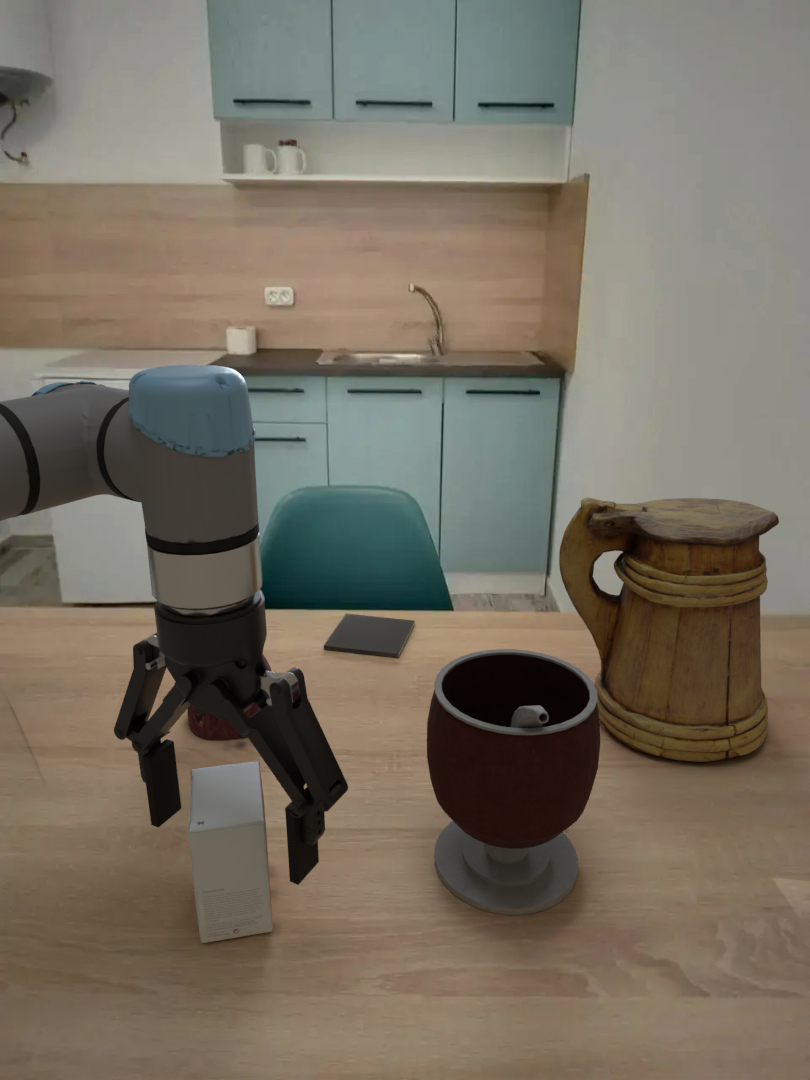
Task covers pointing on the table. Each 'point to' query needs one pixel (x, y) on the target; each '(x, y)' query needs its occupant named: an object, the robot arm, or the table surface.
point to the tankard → (675, 622)
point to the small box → (229, 851)
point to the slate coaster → (370, 635)
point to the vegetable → (216, 722)
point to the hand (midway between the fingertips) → (232, 843)
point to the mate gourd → (511, 775)
